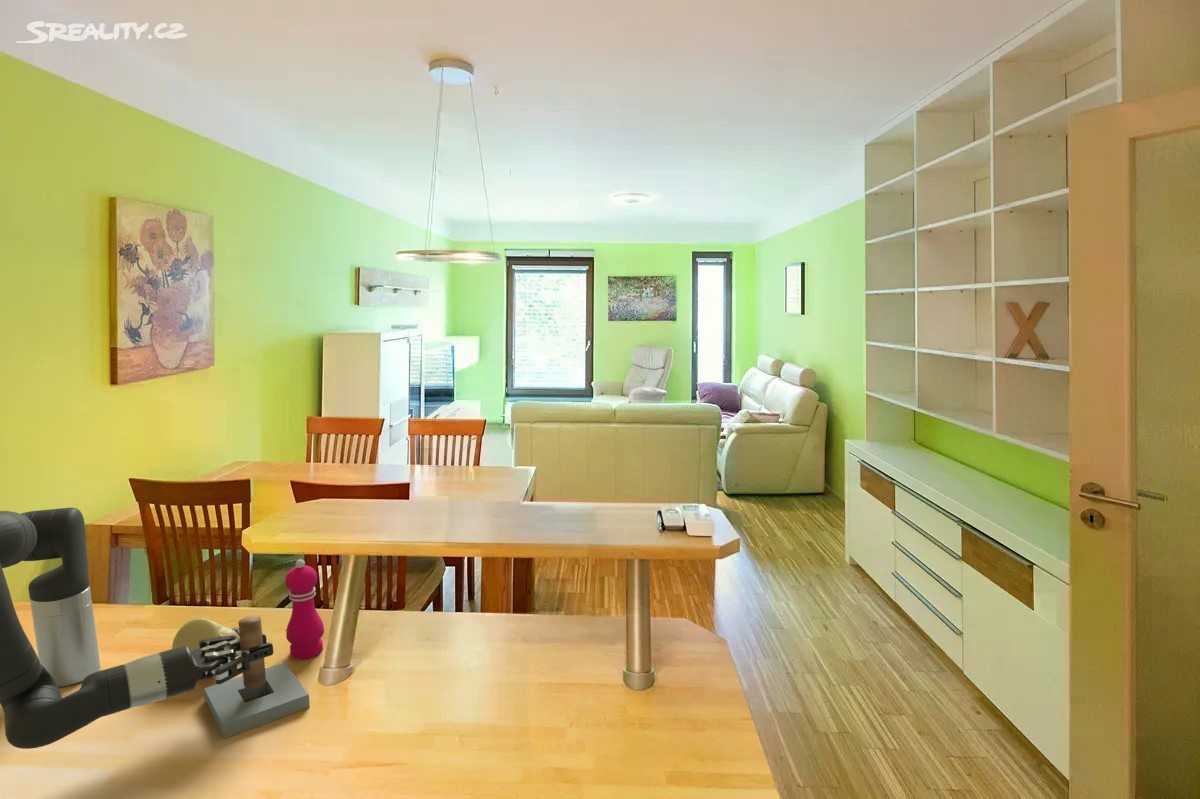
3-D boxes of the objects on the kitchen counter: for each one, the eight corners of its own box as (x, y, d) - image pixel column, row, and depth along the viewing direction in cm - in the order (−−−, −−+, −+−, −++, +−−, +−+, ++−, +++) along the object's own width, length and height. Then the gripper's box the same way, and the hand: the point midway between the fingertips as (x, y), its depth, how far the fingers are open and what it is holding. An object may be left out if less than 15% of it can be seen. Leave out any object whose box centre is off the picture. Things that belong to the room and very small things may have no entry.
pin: (241, 682, 131) (236, 619, 129) (262, 675, 133) (257, 613, 131) (246, 690, 128) (241, 627, 126) (268, 683, 130) (263, 621, 128)
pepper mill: (297, 642, 153) (290, 552, 150) (331, 642, 153) (324, 553, 150) (281, 660, 146) (273, 566, 143) (316, 661, 146) (310, 567, 142)
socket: (205, 700, 133) (204, 688, 132) (285, 674, 141) (284, 662, 141) (224, 738, 122) (223, 725, 122) (309, 707, 131) (308, 694, 130)
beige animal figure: (223, 685, 137) (218, 633, 136) (163, 682, 139) (157, 630, 137) (252, 658, 147) (248, 609, 145) (197, 655, 148) (192, 606, 146)
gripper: (165, 673, 115) (279, 639, 125) (150, 639, 125) (256, 610, 136) (169, 716, 116) (282, 679, 127) (154, 679, 127) (259, 647, 137)
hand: (268, 643), depth 131 cm, fingers closed on pin, 3 cm apart
